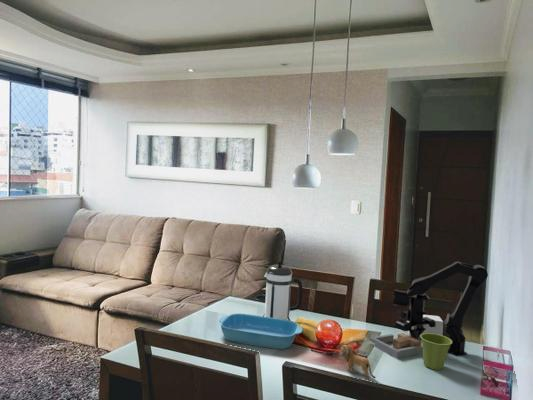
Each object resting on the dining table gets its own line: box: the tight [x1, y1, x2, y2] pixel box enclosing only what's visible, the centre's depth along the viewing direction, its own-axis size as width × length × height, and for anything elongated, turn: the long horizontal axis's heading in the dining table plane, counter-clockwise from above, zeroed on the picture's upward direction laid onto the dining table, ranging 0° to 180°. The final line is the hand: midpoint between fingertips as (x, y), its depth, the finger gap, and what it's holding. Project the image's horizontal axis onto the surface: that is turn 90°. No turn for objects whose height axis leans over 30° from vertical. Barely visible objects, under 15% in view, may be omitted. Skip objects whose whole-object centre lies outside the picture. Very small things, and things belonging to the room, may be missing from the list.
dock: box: [368, 333, 419, 360], centre depth 186 cm, size 17×12×3 cm
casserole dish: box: [218, 313, 304, 350], centre depth 189 cm, size 37×22×7 cm, turn 77°
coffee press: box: [262, 260, 303, 321], centre depth 214 cm, size 17×16×30 cm
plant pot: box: [419, 333, 452, 371], centre depth 171 cm, size 12×12×11 cm
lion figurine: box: [339, 344, 376, 380], centre depth 161 cm, size 15×5×9 cm, turn 51°
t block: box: [392, 333, 422, 352], centre depth 188 cm, size 10×10×4 cm
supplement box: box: [406, 314, 444, 336], centre depth 205 cm, size 9×9×15 cm
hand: (414, 342), depth 192 cm, fingers closed
